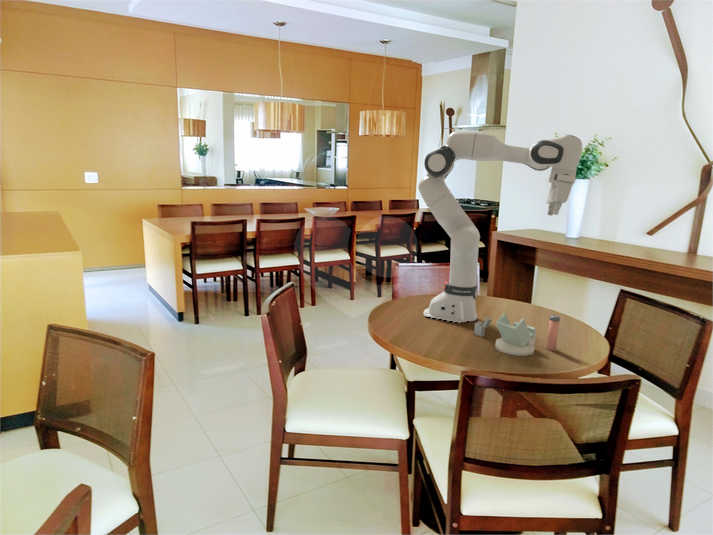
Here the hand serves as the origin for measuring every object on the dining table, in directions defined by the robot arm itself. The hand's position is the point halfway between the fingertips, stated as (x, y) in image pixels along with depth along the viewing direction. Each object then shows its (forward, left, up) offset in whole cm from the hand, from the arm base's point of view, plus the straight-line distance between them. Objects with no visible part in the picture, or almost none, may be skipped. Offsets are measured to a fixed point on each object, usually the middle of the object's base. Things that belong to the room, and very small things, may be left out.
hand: (552, 215), depth 184 cm
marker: (+2, -25, -45) cm, 52 cm away
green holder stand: (-10, -29, -45) cm, 54 cm away
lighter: (-22, -20, -46) cm, 54 cm away
